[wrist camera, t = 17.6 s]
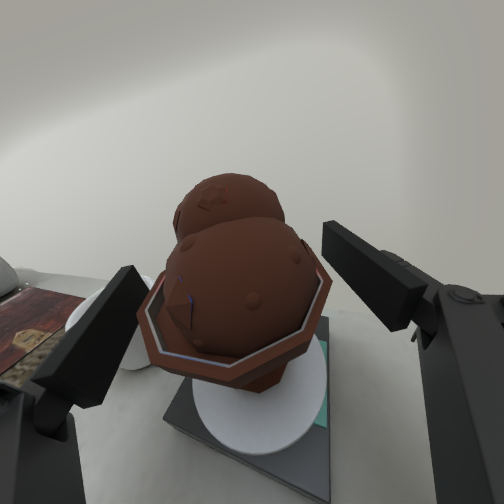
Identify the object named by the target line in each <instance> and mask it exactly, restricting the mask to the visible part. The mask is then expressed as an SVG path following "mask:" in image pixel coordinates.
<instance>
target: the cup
mask: <svg viewBox="0 0 504 504" xmlns="http://www.w3.org/2000/svg"><path fill="white" fill-rule="evenodd" d="M141 278H142V279H143V281H144V282H145V284H146V285H147V287H148V288H149V290H151V288H152V286H153V285H154V283H155V282H154V281H153V279H151V278H149V277H146V276H141ZM104 288H105V287H104ZM104 288H102V289H100V290H98V291H97V292H95V293H94V294H92V295H91V296H90V297H88V298H87V299H86V300H85V301H83V302H82V303H81V304H80V305H79V306H78V307H77V308H76V309H75V310H74V312H73V313H72V314H71V316H70V317H69V319H68V321H67V323H66V326H65V332H66V331H67V330H68V329H70V328H71V327H72V326H73V325H74V324H75V323H77V321H78V320H79V319H80V318H81V317H82V315H83V314H84V313H85V312H86V310H87V309H88V308H89V307H90V305H91V304H92V303H93V302H94V301H95V299H96V298H97V297H98V296H99V294H100V293H101V292H102V291H103V289H104ZM149 364H151V363H150V361H149V357H148V354H147V350H146V347H145V343H144V340H143V336H142V333H141V329H140V326H139V324H138V326H137V329H136V331H135V333H134V335H133V337H132V339H131V342H130V344H129V346H128V348H127V350H126V352H125V355H124V357H123V359H122V361H121V363H120V365H119V367H120V368H123V369H127V370H136V369H140V368H143V367H146V366H148V365H149Z"/></svg>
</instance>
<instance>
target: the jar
mask: <svg viewBox="0 0 504 504" xmlns="http://www.w3.org/2000/svg"><path fill="white" fill-rule="evenodd" d="M17 285H18V276H17V274H16V272H15V271H14V269H13V268H12V267H11V266H10V265H9V264H8V263H7V262H6V261H5V260H4V259H3V258H1V257H0V297H2V296H3V295H5V294H7V293H9V292H11V291H12V290H14V289H15V288H16V287H17ZM26 285H28V283H27V284H26ZM19 290H21V289H19Z"/></svg>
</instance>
